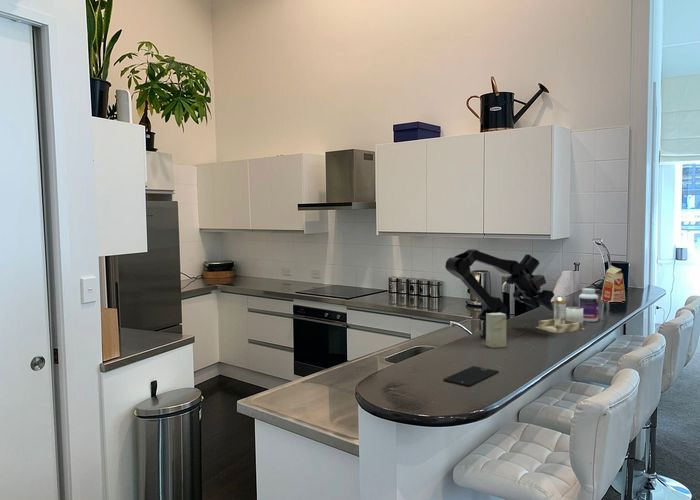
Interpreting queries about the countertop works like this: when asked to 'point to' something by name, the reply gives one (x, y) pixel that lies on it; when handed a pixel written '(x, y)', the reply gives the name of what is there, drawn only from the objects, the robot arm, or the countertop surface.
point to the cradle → (559, 326)
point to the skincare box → (495, 330)
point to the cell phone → (470, 376)
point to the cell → (559, 310)
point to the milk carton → (613, 286)
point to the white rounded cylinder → (574, 314)
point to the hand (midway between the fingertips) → (543, 308)
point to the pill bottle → (589, 304)
